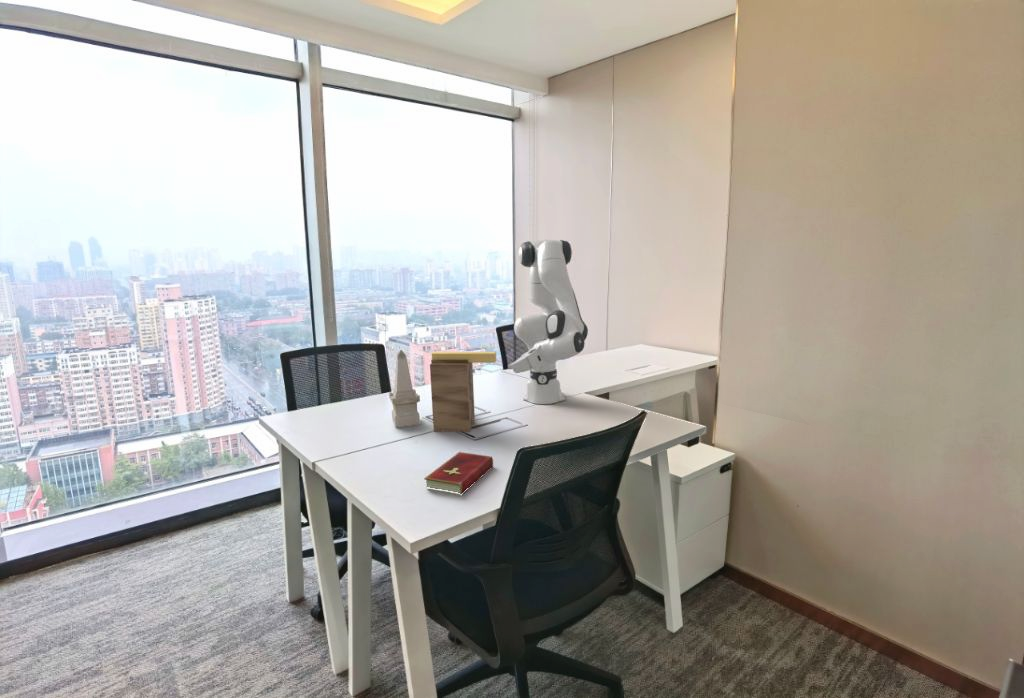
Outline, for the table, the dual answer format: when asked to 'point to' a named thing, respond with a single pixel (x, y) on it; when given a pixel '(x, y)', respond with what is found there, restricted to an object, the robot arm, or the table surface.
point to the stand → (452, 395)
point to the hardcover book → (459, 472)
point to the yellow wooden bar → (466, 356)
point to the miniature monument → (404, 395)
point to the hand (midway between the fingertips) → (515, 362)
